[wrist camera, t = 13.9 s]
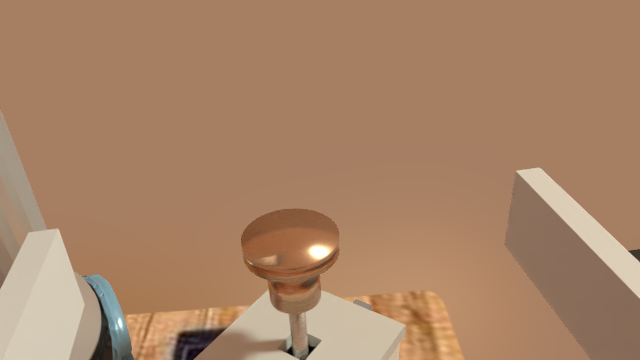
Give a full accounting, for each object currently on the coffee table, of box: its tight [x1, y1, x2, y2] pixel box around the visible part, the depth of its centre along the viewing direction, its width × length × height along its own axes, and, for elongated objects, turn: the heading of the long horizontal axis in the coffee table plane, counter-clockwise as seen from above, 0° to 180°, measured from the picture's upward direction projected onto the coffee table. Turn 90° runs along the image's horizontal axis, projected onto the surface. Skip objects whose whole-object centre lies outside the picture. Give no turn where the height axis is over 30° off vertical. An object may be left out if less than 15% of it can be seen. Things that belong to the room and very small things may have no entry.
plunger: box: [241, 209, 340, 360], centre depth 42 cm, size 6×6×23 cm
